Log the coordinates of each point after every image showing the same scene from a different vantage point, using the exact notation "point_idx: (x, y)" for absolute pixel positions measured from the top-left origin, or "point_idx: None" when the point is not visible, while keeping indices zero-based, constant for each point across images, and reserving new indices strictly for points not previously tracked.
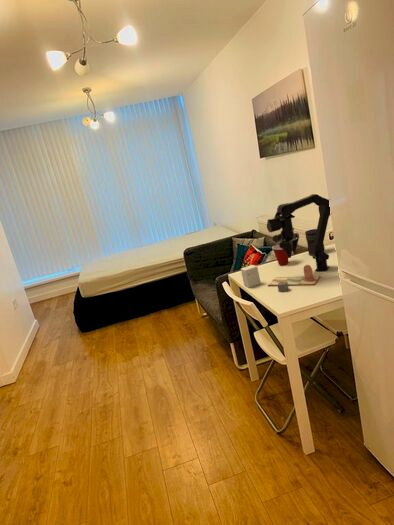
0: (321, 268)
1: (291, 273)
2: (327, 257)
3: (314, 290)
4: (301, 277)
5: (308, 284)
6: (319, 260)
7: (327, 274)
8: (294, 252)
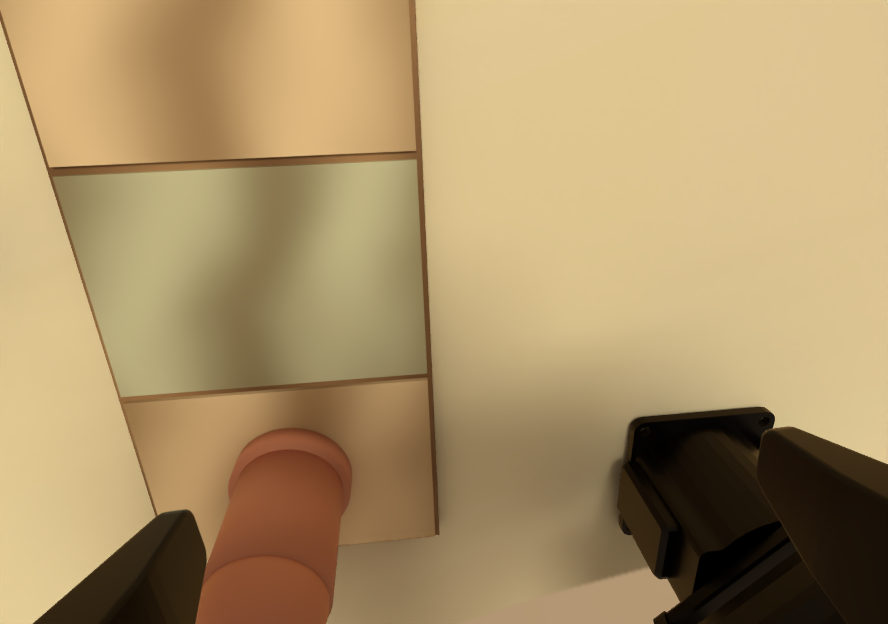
0: (626, 514)
1: (630, 98)
2: None
3: (29, 593)
4: (376, 354)
5: (154, 506)
6: (699, 586)
7: (508, 559)
8: (763, 471)
